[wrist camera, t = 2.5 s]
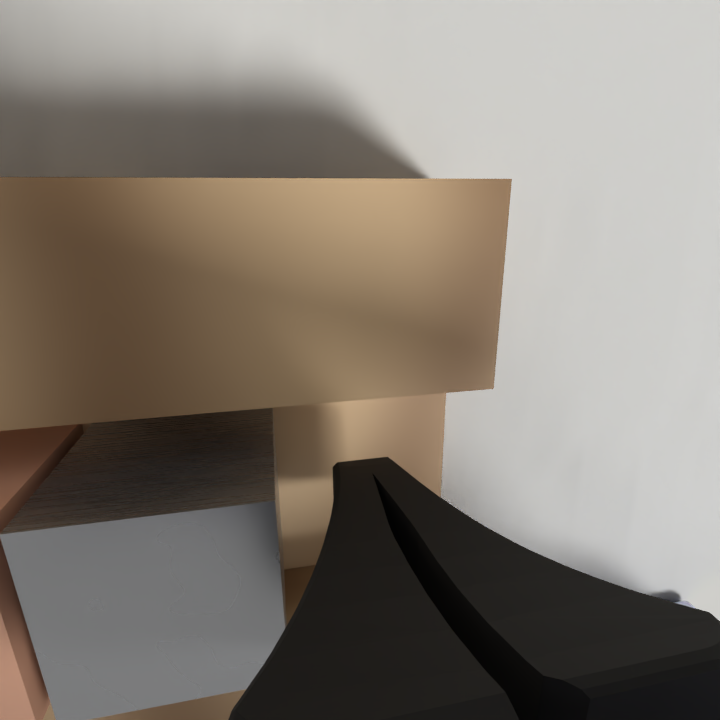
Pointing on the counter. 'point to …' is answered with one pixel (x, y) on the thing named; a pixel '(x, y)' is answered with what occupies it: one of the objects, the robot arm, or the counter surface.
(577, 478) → the counter surface
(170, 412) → the oak channel board
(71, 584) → the grey steel block
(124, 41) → the counter surface
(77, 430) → the terracotta block
